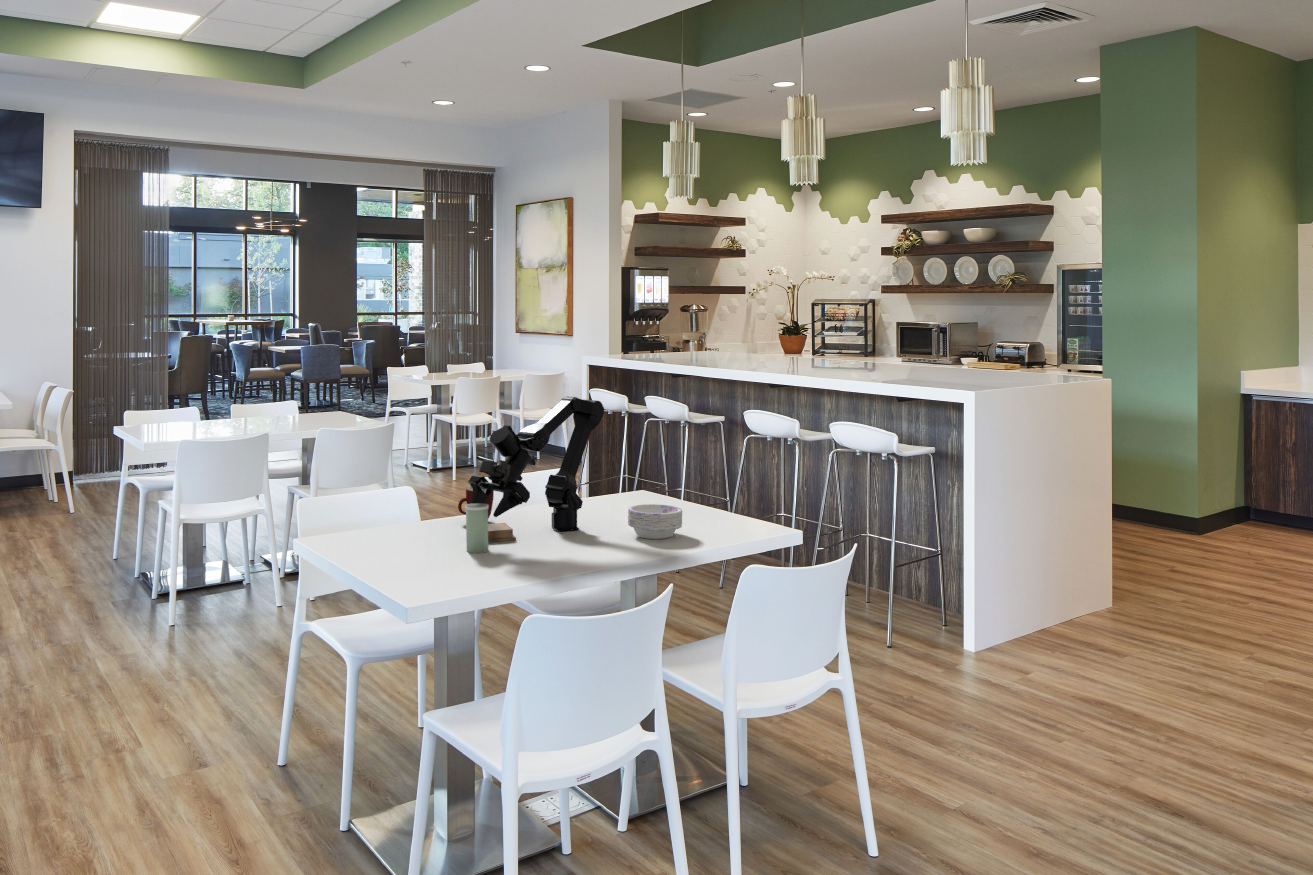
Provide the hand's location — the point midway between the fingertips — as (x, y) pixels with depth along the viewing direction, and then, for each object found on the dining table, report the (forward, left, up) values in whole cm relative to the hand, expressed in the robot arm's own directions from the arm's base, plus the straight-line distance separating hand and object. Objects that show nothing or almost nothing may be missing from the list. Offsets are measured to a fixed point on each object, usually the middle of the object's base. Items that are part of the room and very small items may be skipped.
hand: (482, 513), depth 261 cm
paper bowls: (-48, +1, -10) cm, 49 cm away
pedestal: (-5, -12, -9) cm, 16 cm away
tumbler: (+2, +1, -10) cm, 10 cm away
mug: (-5, -34, -10) cm, 36 cm away
